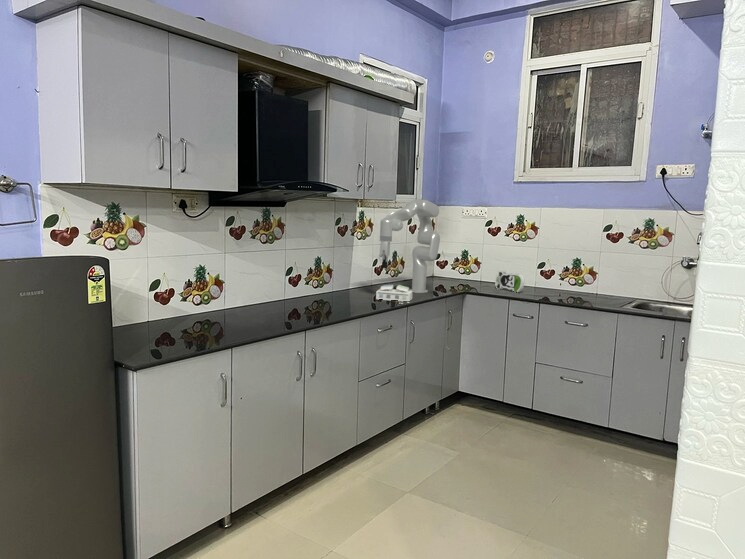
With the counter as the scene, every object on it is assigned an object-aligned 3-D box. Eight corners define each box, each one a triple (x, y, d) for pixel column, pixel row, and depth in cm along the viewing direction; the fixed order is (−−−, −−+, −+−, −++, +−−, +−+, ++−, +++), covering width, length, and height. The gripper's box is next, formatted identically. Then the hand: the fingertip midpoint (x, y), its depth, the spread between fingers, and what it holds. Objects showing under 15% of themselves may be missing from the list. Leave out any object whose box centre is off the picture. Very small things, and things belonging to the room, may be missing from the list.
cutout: (495, 270, 413) (522, 272, 393) (497, 270, 415) (524, 272, 394) (494, 290, 414) (521, 293, 394) (497, 290, 416) (524, 293, 396)
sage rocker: (397, 287, 352) (398, 284, 352) (408, 290, 351) (409, 287, 351) (396, 289, 346) (397, 286, 346) (407, 291, 345) (407, 288, 345)
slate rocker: (382, 288, 354) (382, 285, 354) (393, 287, 353) (393, 284, 353) (380, 289, 349) (380, 286, 348) (391, 288, 347) (391, 285, 347)
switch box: (379, 296, 359) (380, 287, 358) (412, 298, 355) (412, 289, 354) (375, 299, 346) (376, 290, 345) (409, 302, 342) (409, 292, 341)
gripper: (382, 238, 355) (380, 266, 358) (377, 239, 341) (376, 269, 343) (393, 238, 354) (392, 267, 356) (389, 240, 339) (388, 270, 342)
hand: (384, 268), depth 350 cm, fingers closed
